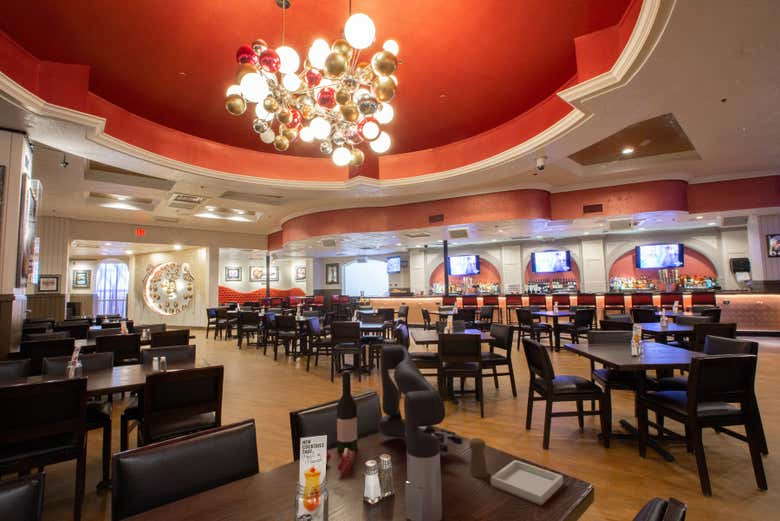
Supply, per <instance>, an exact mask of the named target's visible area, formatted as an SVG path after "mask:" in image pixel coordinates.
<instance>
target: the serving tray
mask: <svg viewBox="0 0 780 521" xmlns="http://www.w3.org/2000/svg"><path fill="white" fill-rule="evenodd" d="M563 485H564V475H562V474H559V473H555V472H553V471H549V470H546V469H544V468H541V467H537V466H535V465H531V464H529V463H525V462H523V461H520V460H517V459H514V460H512V461H511V462H510V463H508V464H507V465H505V466H503V468H502V469H499V471H497V472H496V473H493V475H492V476H490V486H491V487H494V488H496V489H499V490H501V491H503V492H505V493H508V494H511V495H513V496H516V497H519V498H521V499H523V500H526V501H529V502H531V503H533V504H536V505H538V506H540V507H542V506H543V505H544V504H545V503H546V502H547V501H548V500H549V499H550V498H551V497H552V496H553V495H554V494H555V493H556V492H557V491H558V490H560V488H561V487H562V486H563Z"/></svg>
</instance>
